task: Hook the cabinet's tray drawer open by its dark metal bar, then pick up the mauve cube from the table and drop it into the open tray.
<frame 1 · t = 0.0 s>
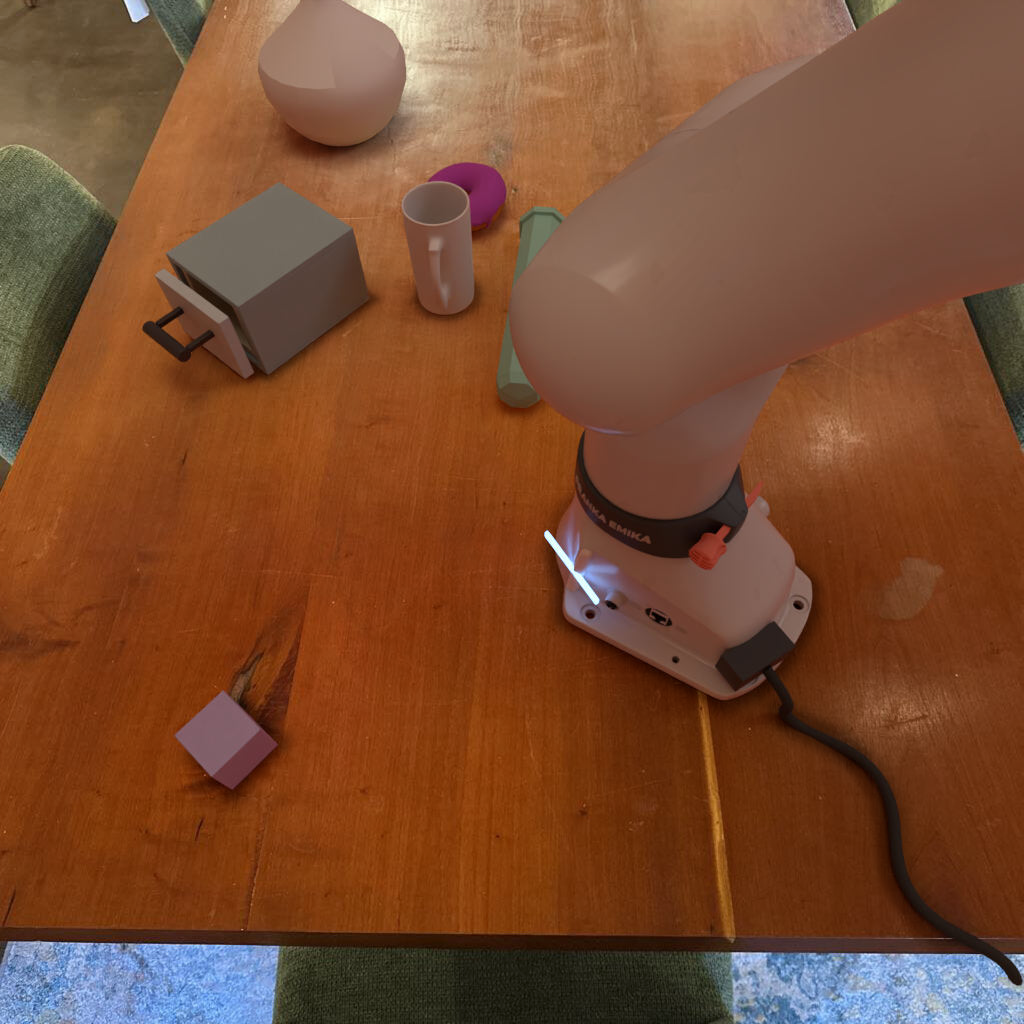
mug: (445, 307, 84), on the table
donut: (466, 214, 93), on the table
mauve cube: (237, 747, 60), on the table
cabinet: (286, 311, 84), on the table
drawer: (236, 303, 78), point 5 cm above the table, slide at 1.0 cm
vase: (345, 126, 103), on the table
container: (531, 325, 83), on the table
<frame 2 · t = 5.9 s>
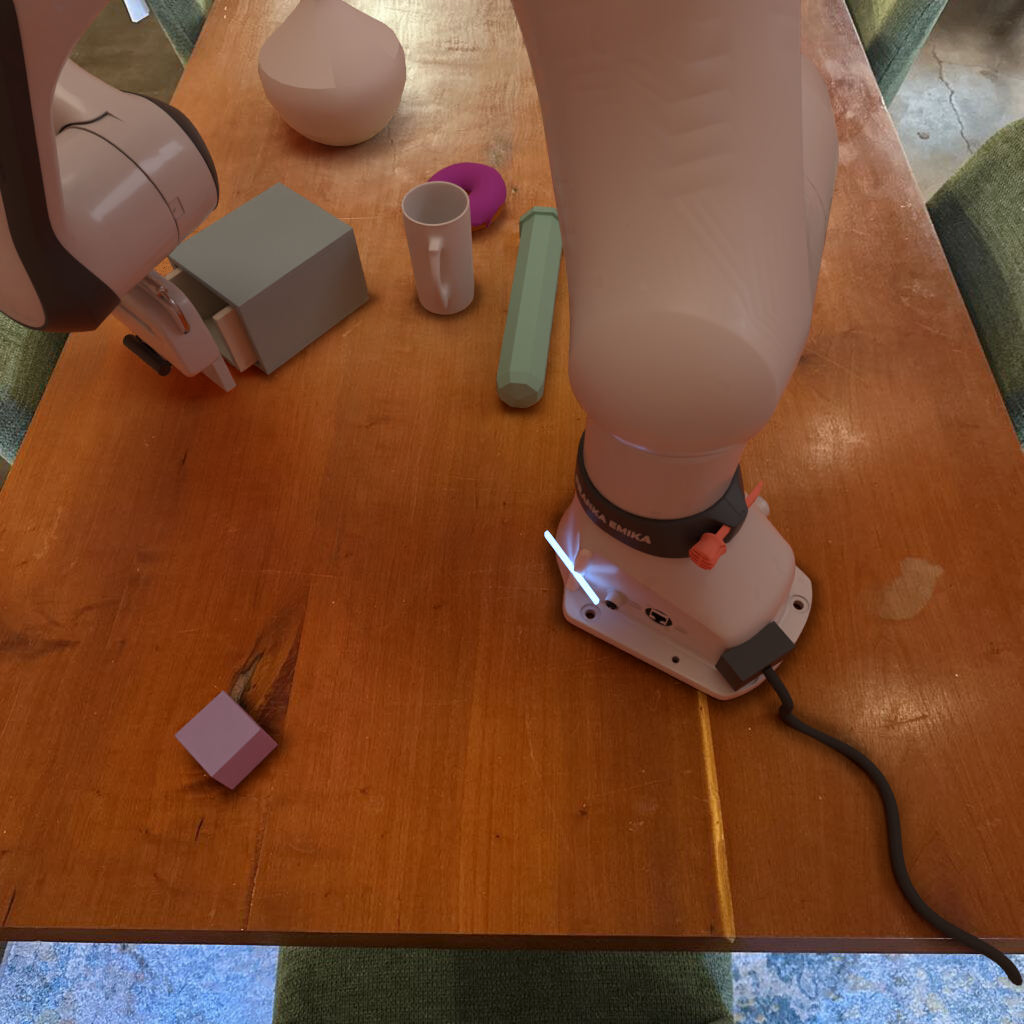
hand: (164, 354, 75), 5 cm above the table, tool pointing down, fingers closed, pressing on drawer
drawer: (218, 315, 78), point 5 cm above the table, slide at 3.3 cm, touching gripper
everything else where it was.
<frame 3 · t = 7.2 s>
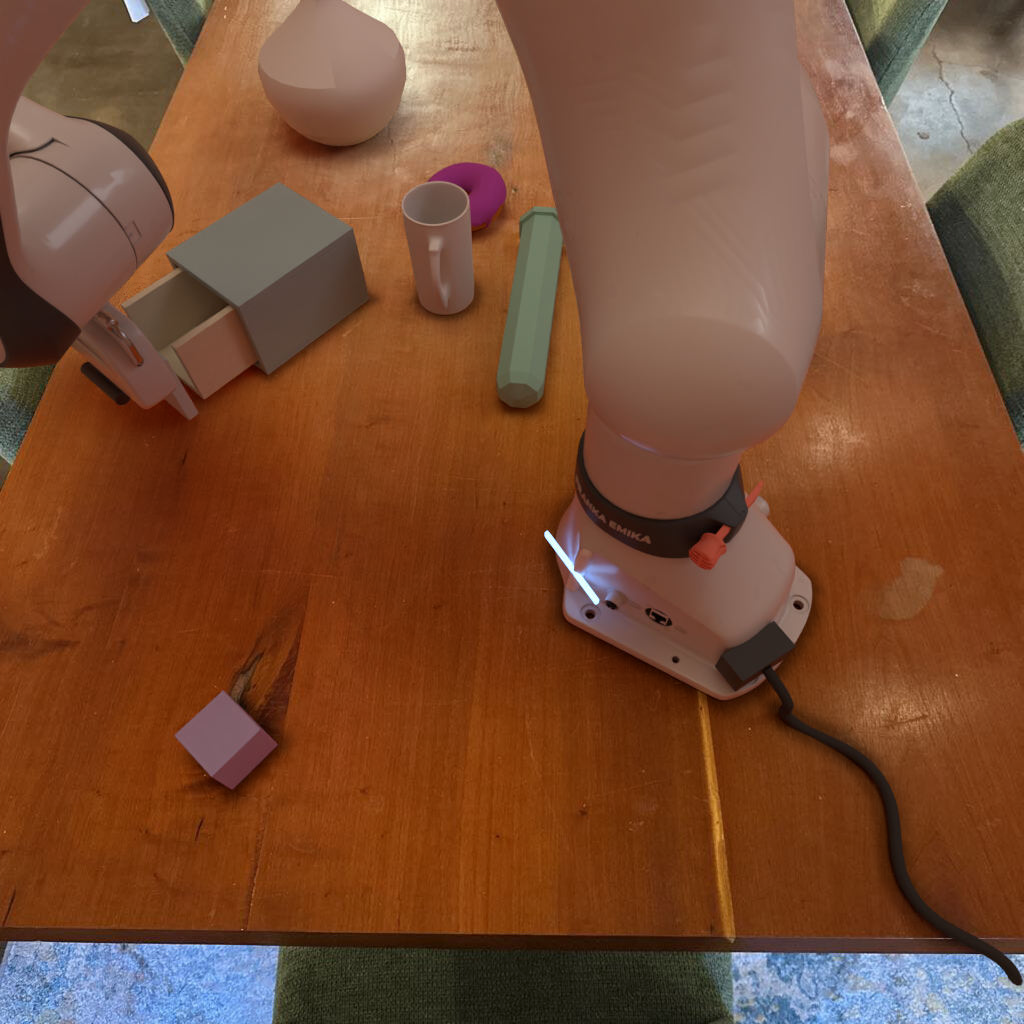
hand: (124, 382, 74), 4 cm above the table, tool pointing down, fingers closed, pressing on drawer
drawer: (180, 341, 76), point 5 cm above the table, slide at 8.0 cm, touching gripper
everything else where it was.
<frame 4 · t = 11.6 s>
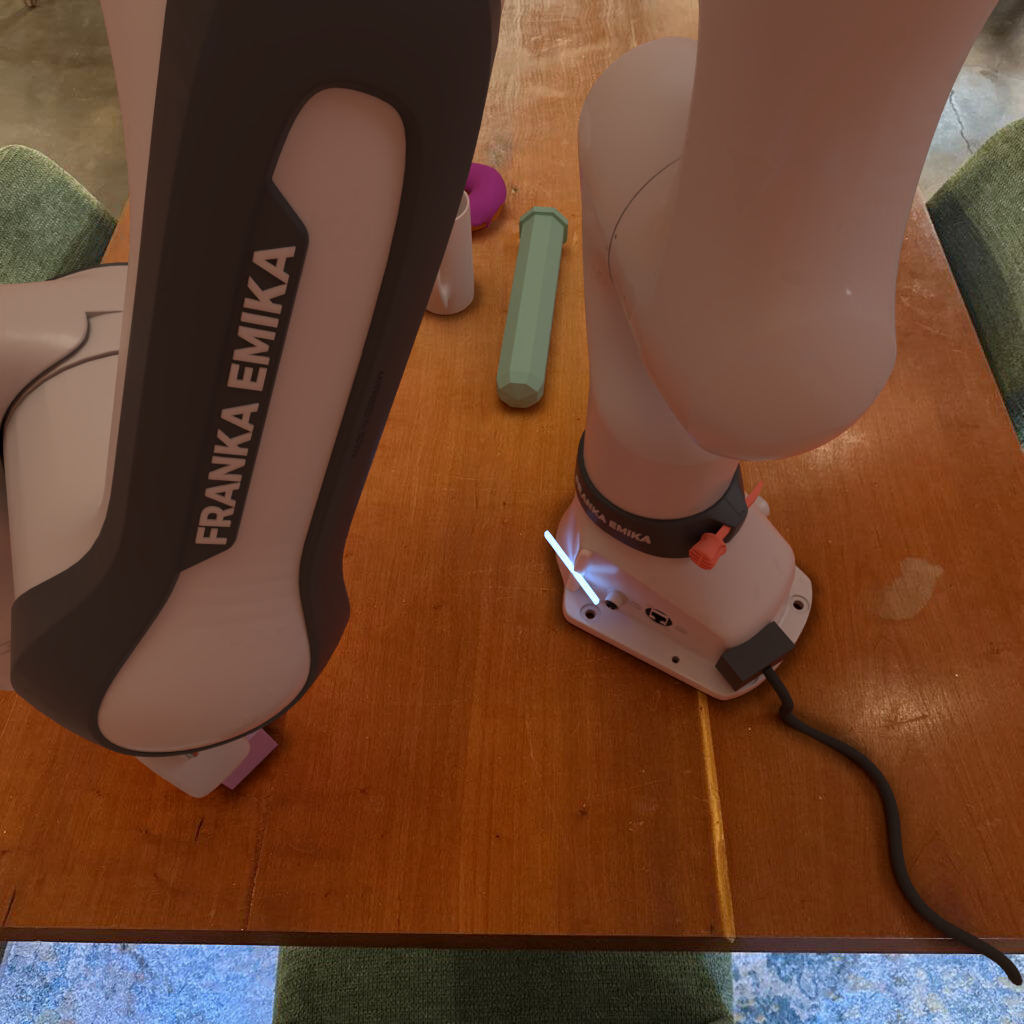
hand: (157, 684, 47), 15 cm above the table, tool pointing down, fingers open, 6 cm apart
drawer: (180, 341, 76), point 5 cm above the table, slide at 8.0 cm
everything else where it was.
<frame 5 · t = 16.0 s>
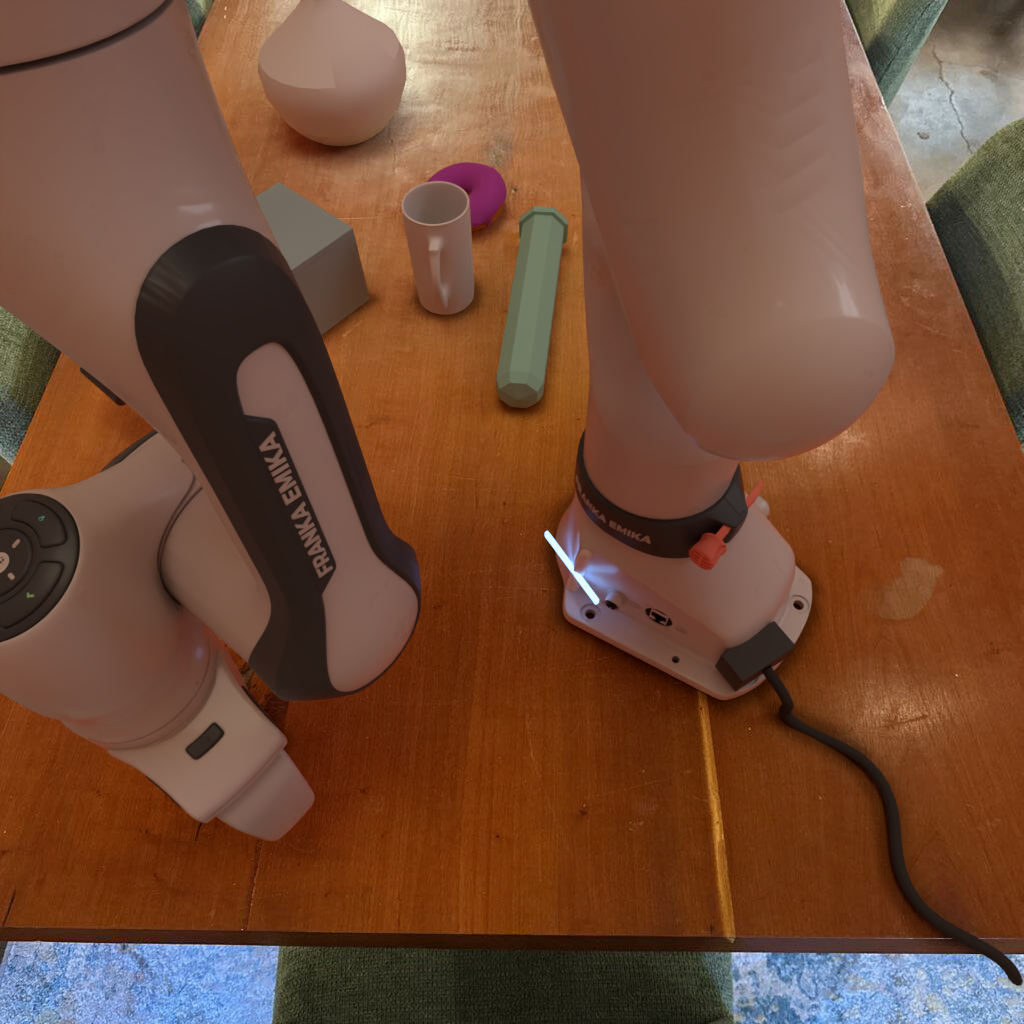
hand: (230, 742, 58), 2 cm above the table, tool pointing down, fingers closed on mauve cube, 4 cm apart
mauve cube: (237, 747, 60), on the table, touching gripper
everything else where it was.
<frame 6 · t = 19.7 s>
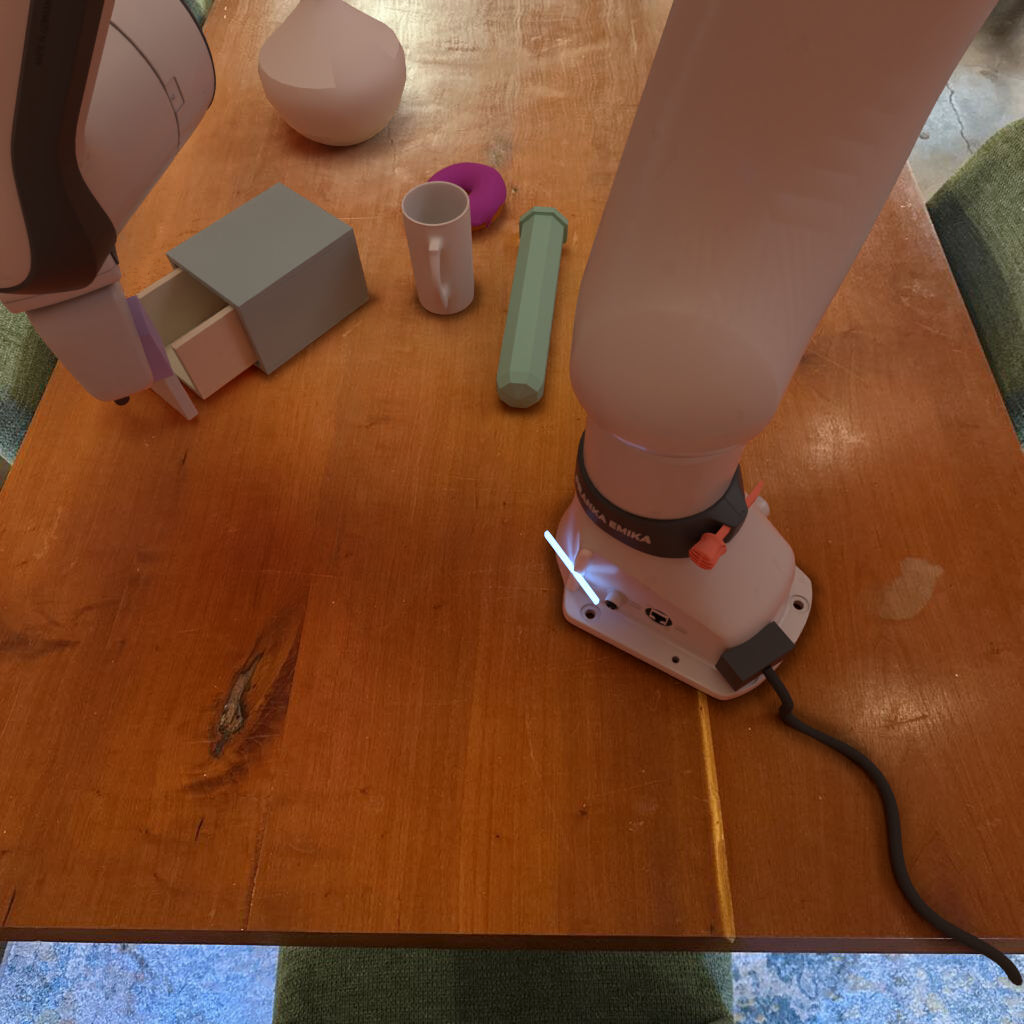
hand: (130, 350, 58), 17 cm above the table, tool pointing down, fingers closed on mauve cube, 4 cm apart
mauve cube: (138, 365, 60), point 16 cm above the table, touching gripper
everything else where it was.
when the fingers open (8 cm above the table, at t = 24.1 s): mauve cube stays where it is, resting on drawer.
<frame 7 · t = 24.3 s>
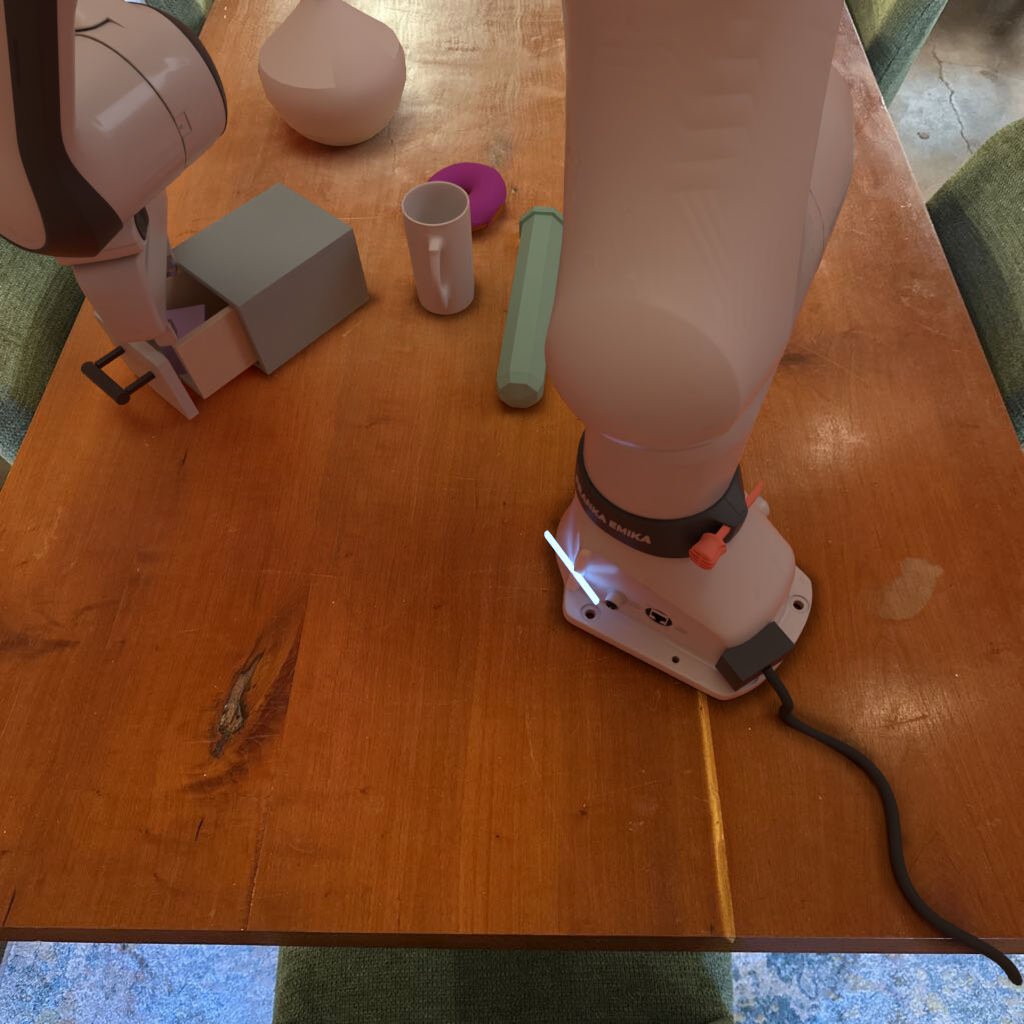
hand: (169, 305, 72), 9 cm above the table, tool pointing down, fingers open, 8 cm apart
mauve cube: (198, 355, 78), point 2 cm above the table, touching drawer
drawer: (181, 341, 76), point 5 cm above the table, slide at 8.0 cm, touching mauve cube
everything else where it was.
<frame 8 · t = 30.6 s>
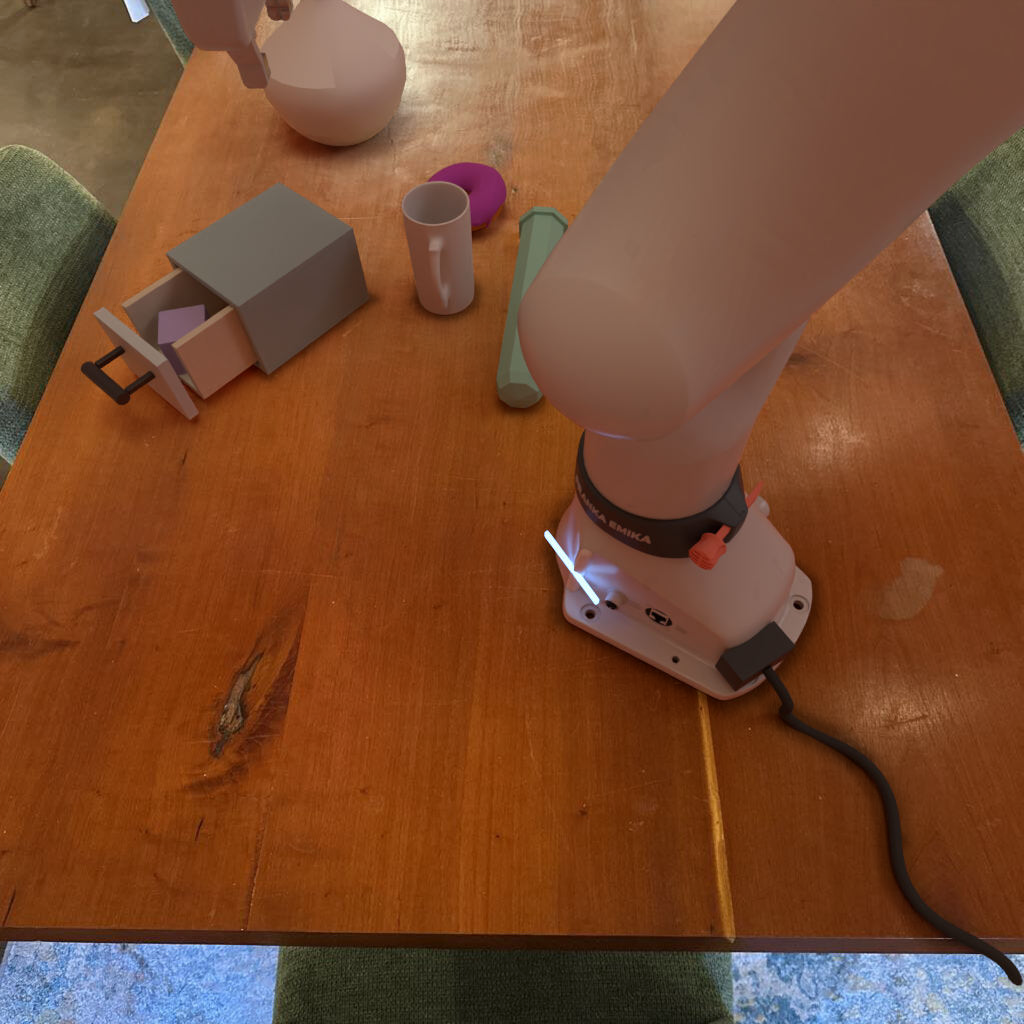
hand: (271, 48, 58), 29 cm above the table, tool pointing down, fingers open, 8 cm apart
nothing on the table moved.
at the end: drawer slide at 8.0 cm; mauve cube inside the target area in the drawer (1.0 cm from its centre), point 2.0 cm above the cabinet's base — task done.
